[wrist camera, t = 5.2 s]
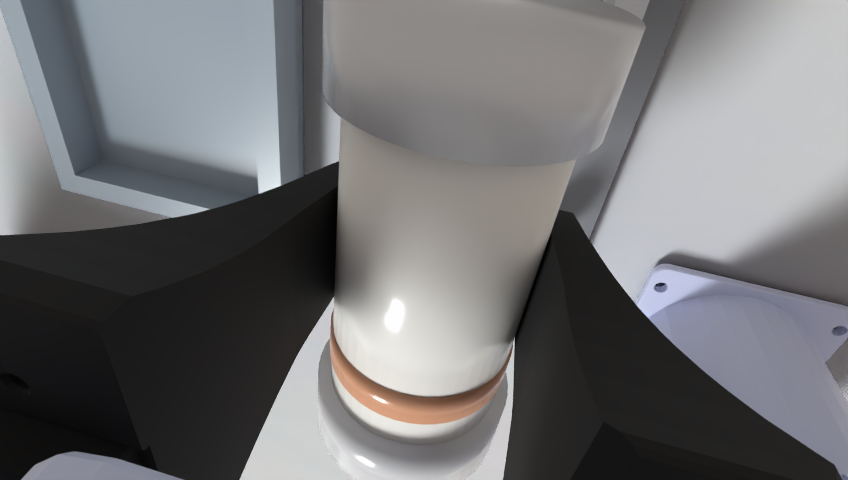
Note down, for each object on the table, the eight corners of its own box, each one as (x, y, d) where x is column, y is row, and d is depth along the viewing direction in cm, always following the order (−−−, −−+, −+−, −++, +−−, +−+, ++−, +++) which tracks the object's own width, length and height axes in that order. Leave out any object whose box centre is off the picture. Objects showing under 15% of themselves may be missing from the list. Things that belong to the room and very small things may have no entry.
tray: (304, 220, 24) (283, 245, 22) (97, 169, 25) (61, 189, 23) (300, -193, 15) (265, -206, 13) (-18, -241, 16) (-90, -259, 14)
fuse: (501, 366, 15) (481, 523, 11) (353, 326, 15) (285, 463, 11) (626, -2, 9) (674, 65, 5) (380, -47, 9) (260, -16, 6)
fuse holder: (572, 267, 22) (574, 324, 19) (355, 214, 23) (324, 260, 20) (712, -85, 14) (751, -81, 11) (377, -138, 15) (333, -149, 12)
